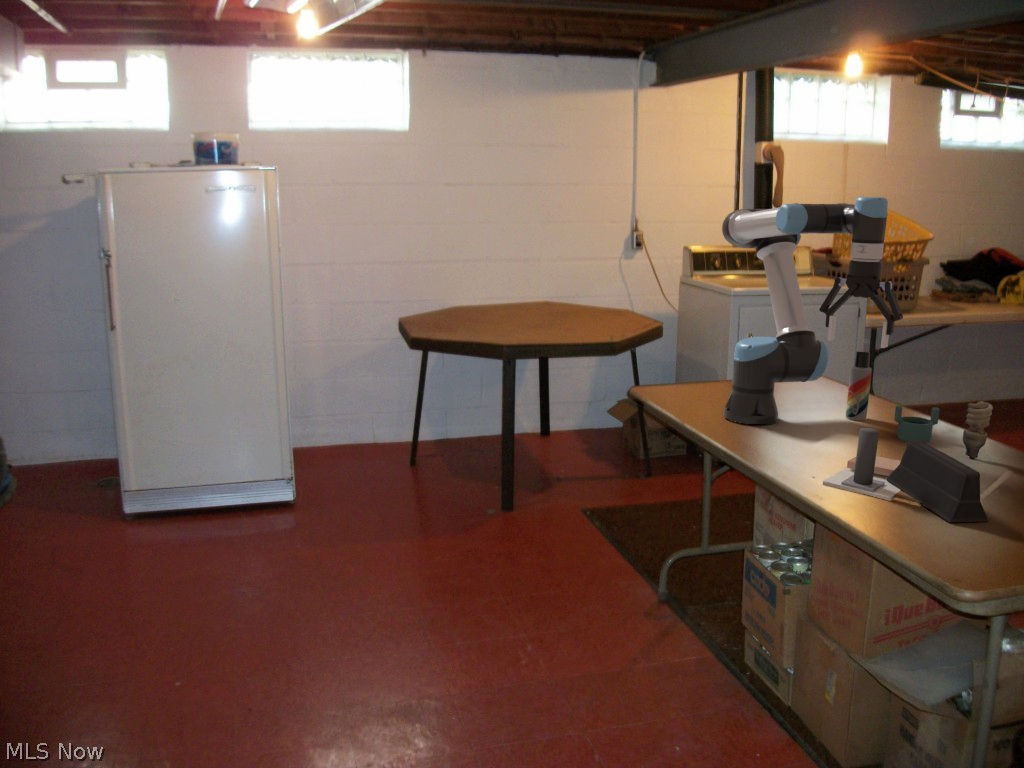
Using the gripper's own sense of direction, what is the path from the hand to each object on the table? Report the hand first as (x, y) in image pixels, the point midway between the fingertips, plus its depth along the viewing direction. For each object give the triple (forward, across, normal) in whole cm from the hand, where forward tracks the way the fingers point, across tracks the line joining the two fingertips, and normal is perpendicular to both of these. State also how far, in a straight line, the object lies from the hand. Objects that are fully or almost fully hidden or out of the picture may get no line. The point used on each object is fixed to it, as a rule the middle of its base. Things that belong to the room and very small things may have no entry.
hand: (856, 343), depth 220 cm
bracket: (+27, +11, +18) cm, 34 cm away
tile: (+25, +15, -13) cm, 32 cm away
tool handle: (+25, +16, -31) cm, 43 cm away
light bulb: (+27, +28, +9) cm, 40 cm away
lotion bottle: (+27, -8, +27) cm, 39 cm away
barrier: (+26, +31, -29) cm, 50 cm away
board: (+27, +16, -22) cm, 38 cm away
